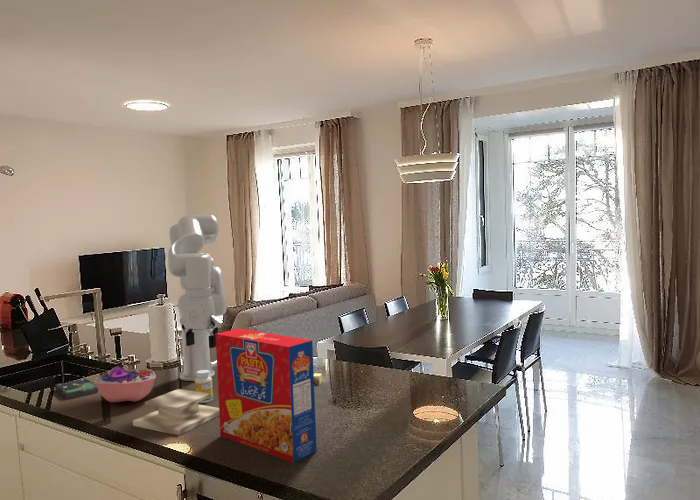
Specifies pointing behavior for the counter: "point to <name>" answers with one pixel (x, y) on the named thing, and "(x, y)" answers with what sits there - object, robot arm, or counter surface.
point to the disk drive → (76, 388)
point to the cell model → (125, 384)
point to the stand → (177, 412)
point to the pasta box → (267, 392)
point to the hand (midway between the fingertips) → (201, 346)
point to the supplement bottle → (204, 384)
